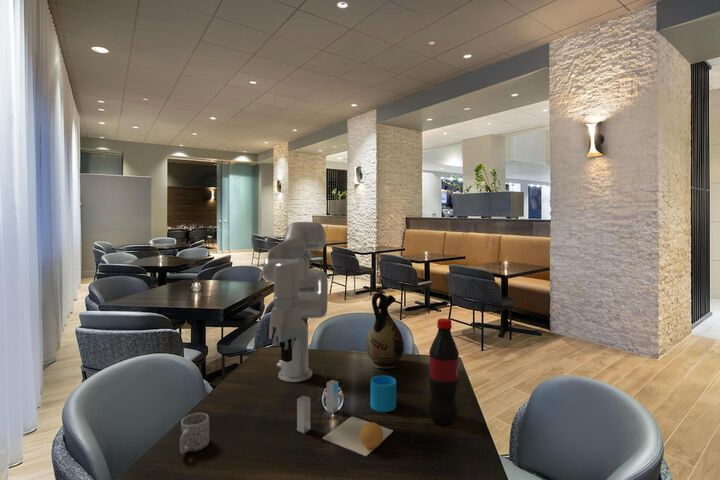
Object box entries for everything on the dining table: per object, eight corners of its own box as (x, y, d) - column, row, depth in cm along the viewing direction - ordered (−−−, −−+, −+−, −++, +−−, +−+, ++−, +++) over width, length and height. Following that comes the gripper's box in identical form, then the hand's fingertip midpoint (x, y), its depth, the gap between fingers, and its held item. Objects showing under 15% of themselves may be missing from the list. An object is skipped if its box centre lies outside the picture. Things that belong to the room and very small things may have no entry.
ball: (364, 456, 97) (351, 434, 99) (377, 446, 102) (364, 425, 104) (379, 445, 95) (366, 423, 97) (391, 435, 100) (378, 414, 102)
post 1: (297, 430, 107) (297, 398, 106) (303, 426, 109) (303, 395, 109) (304, 433, 105) (304, 401, 105) (310, 429, 108) (310, 397, 107)
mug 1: (190, 436, 104) (190, 412, 103) (213, 437, 103) (213, 413, 103) (168, 458, 94) (167, 432, 94) (194, 460, 93) (193, 434, 93)
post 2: (326, 411, 118) (326, 382, 117) (331, 408, 120) (331, 379, 120) (333, 413, 116) (333, 384, 116) (338, 410, 119) (338, 381, 118)
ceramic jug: (383, 355, 167) (383, 287, 166) (411, 365, 156) (412, 292, 155) (355, 365, 156) (355, 292, 154) (383, 376, 145) (384, 298, 143)
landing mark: (322, 438, 103) (322, 437, 103) (351, 416, 115) (351, 416, 115) (366, 456, 95) (366, 455, 95) (393, 431, 107) (393, 430, 107)
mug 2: (398, 411, 118) (398, 385, 118) (371, 412, 118) (371, 386, 117) (392, 394, 130) (392, 370, 130) (368, 394, 130) (368, 371, 129)
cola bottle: (458, 415, 116) (460, 317, 115) (456, 429, 108) (458, 324, 107) (430, 410, 119) (432, 314, 118) (426, 423, 111) (427, 321, 110)
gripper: (294, 296, 127) (294, 351, 128) (259, 304, 114) (259, 365, 115) (311, 299, 122) (311, 356, 123) (277, 308, 110) (277, 371, 111)
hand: (286, 360), depth 119 cm, fingers closed
